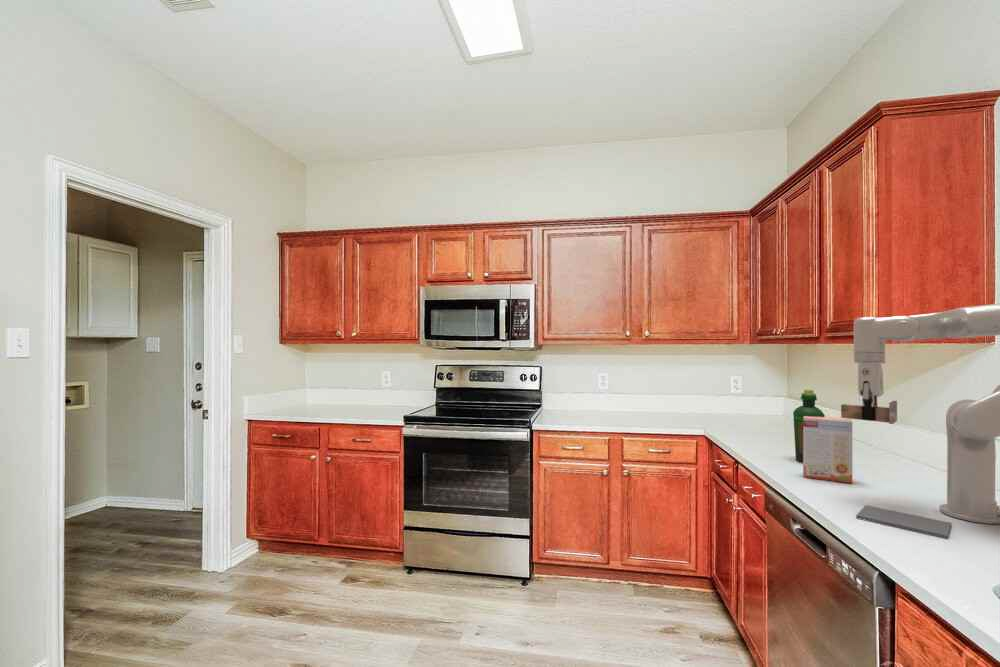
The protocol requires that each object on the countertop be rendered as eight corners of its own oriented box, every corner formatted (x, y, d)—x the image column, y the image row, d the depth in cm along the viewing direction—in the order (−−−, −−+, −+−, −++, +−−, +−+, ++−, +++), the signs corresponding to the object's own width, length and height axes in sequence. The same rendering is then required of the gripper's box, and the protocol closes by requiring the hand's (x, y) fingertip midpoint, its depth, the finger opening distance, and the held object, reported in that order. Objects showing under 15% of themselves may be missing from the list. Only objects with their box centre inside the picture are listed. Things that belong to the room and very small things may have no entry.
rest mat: (951, 526, 126) (951, 522, 126) (947, 538, 117) (947, 535, 118) (865, 507, 139) (865, 505, 139) (856, 518, 130) (856, 515, 130)
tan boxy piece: (839, 418, 149) (839, 399, 149) (845, 415, 154) (845, 396, 154) (892, 424, 139) (892, 403, 139) (897, 420, 145) (897, 400, 145)
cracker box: (851, 480, 166) (851, 418, 167) (852, 484, 161) (853, 421, 161) (802, 473, 174) (803, 414, 174) (802, 477, 169) (803, 417, 169)
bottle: (809, 466, 184) (810, 392, 184) (785, 459, 194) (786, 389, 195) (831, 464, 187) (832, 391, 187) (806, 457, 197) (807, 388, 198)
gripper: (880, 359, 138) (880, 424, 138) (889, 357, 150) (890, 417, 149) (848, 358, 144) (848, 421, 143) (859, 357, 155) (860, 415, 155)
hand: (870, 418), depth 146 cm, fingers closed on tan boxy piece, 3 cm apart
